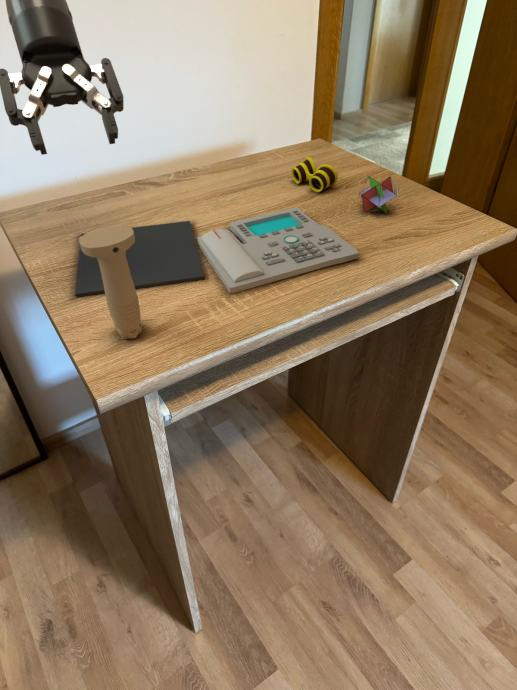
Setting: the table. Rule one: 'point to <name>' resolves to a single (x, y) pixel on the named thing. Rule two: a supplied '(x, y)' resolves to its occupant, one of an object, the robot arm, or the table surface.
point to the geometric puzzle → (378, 194)
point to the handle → (116, 275)
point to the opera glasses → (315, 175)
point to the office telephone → (272, 249)
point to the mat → (149, 259)
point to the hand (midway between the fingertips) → (78, 146)
